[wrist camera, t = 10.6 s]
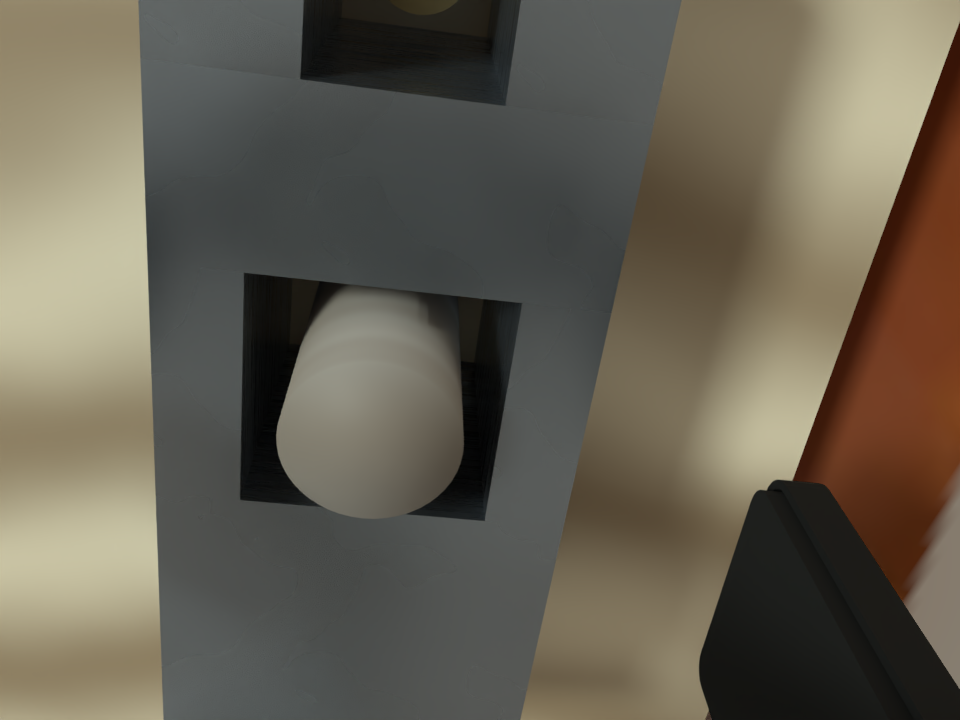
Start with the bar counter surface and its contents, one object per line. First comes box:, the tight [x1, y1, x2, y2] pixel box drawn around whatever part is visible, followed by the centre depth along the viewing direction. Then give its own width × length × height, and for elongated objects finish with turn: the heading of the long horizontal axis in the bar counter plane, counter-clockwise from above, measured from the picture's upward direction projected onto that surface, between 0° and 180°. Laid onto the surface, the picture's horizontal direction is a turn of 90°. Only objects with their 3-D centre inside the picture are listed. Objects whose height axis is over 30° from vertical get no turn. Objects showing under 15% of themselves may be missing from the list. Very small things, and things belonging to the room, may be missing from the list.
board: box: [0, 0, 960, 720], centre depth 18 cm, size 28×18×8 cm, turn 172°
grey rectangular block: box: [138, 0, 682, 720], centre depth 15 cm, size 16×6×5 cm, turn 172°
